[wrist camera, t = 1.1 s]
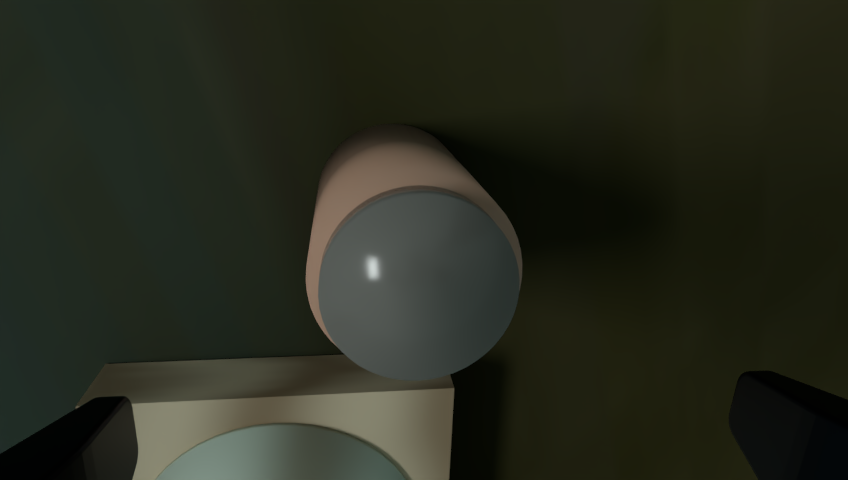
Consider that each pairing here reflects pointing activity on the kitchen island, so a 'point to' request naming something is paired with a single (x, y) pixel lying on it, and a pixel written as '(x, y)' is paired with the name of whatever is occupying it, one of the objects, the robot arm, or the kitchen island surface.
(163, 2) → the kitchen island surface
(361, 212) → the spice jar
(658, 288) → the kitchen island surface
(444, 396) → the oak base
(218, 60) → the kitchen island surface
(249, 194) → the kitchen island surface
